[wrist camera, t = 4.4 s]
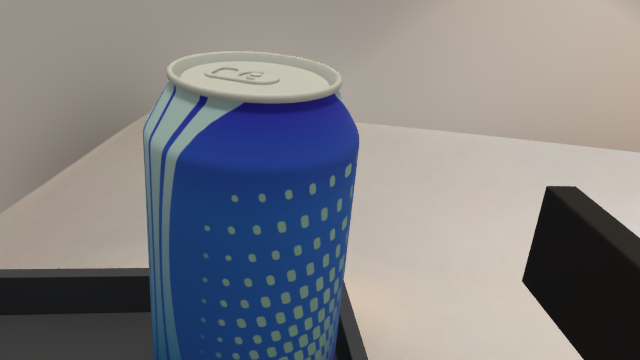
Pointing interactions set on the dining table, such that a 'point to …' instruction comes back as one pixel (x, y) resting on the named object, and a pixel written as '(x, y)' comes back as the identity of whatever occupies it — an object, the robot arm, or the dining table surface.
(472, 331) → the dining table surface
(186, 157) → the beer can
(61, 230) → the dining table surface
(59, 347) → the dark grey serving tray
